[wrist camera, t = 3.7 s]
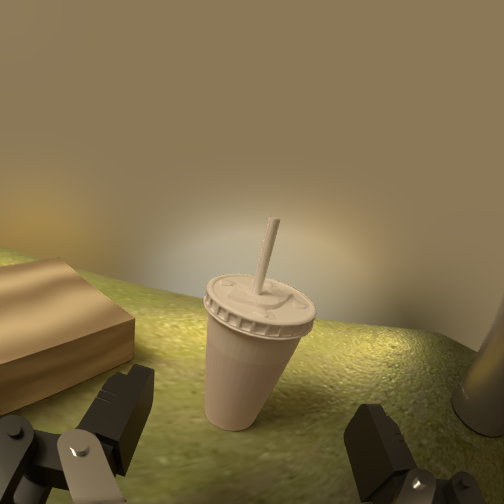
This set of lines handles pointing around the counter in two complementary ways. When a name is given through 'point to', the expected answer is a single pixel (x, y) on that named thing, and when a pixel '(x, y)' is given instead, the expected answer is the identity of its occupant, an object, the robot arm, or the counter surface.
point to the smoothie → (250, 339)
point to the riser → (55, 332)
